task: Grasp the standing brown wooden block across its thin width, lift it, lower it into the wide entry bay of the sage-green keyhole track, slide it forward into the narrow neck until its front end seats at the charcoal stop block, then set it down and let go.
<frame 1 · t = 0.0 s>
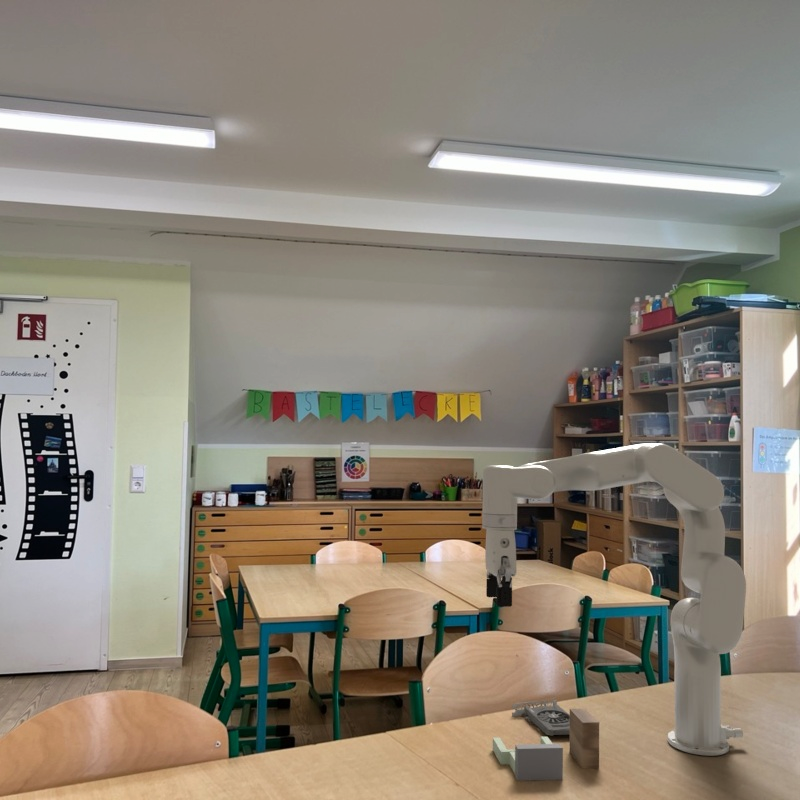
hand: (498, 601, 161), 31 cm above the table, fingers open, 9 cm apart
brown wooden block: (583, 759, 155), on the table
graphics card: (547, 728, 173), on the table
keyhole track: (530, 764, 151), on the table
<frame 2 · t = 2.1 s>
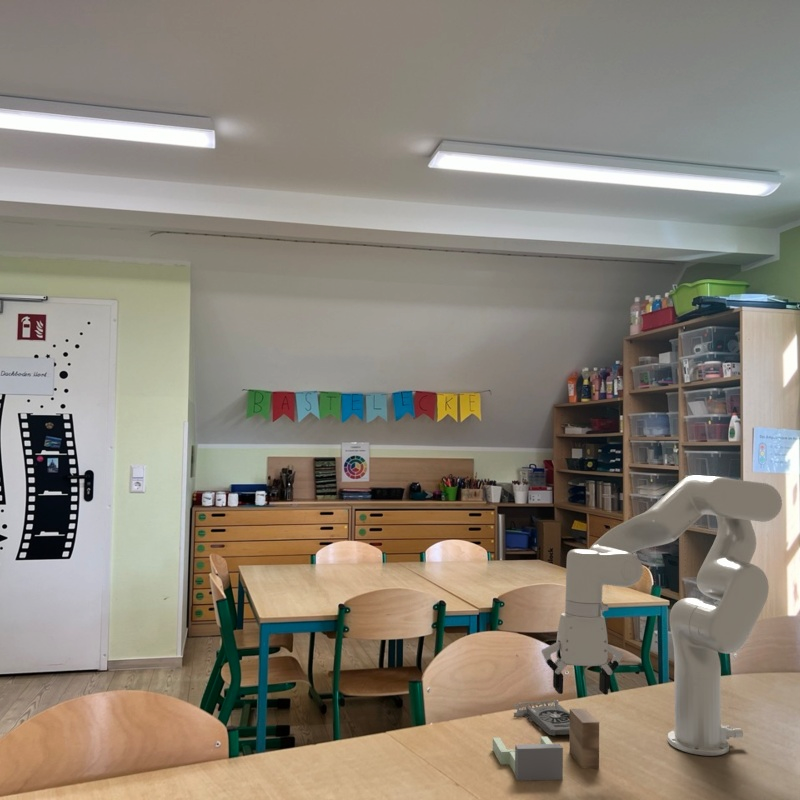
hand: (581, 692, 155), 14 cm above the table, fingers open, 9 cm apart
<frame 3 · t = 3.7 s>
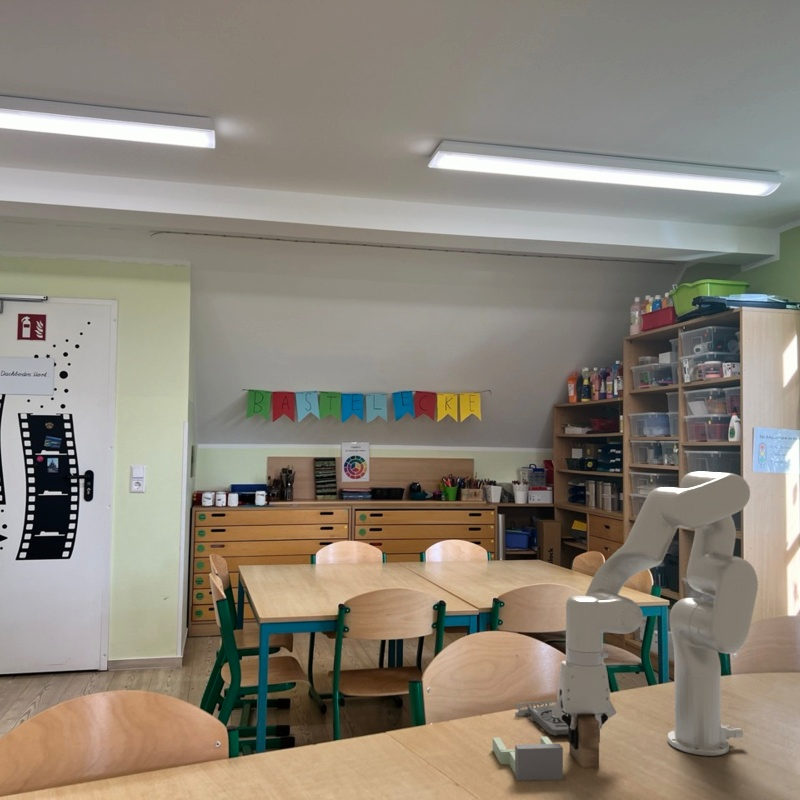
hand: (583, 745, 155), 3 cm above the table, fingers closed on brown wooden block, 3 cm apart
brown wooden block: (583, 759, 155), on the table, touching gripper
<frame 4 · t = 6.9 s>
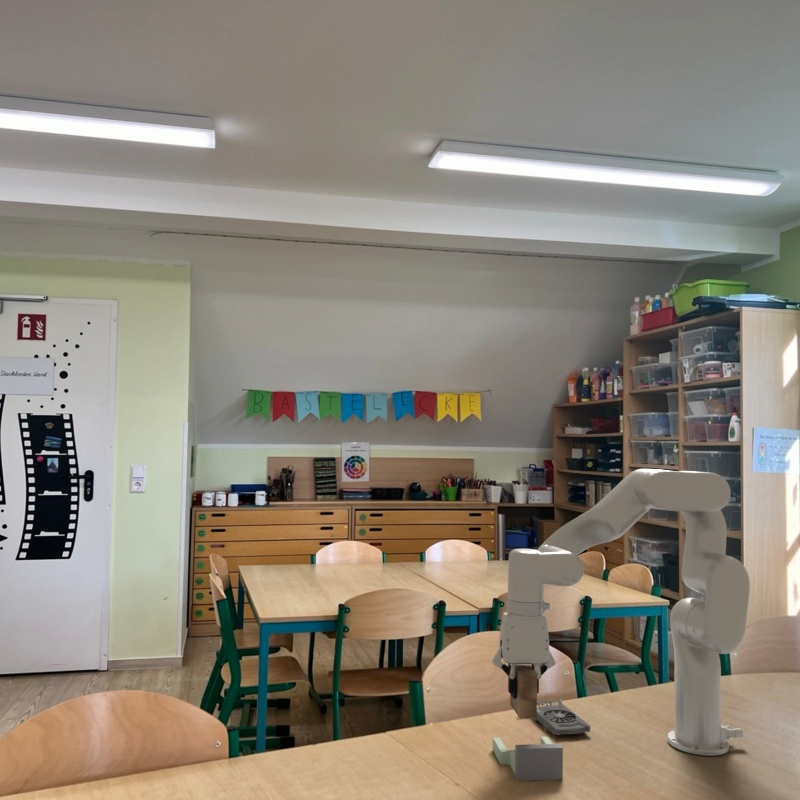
hand: (523, 695, 157), 12 cm above the table, fingers closed on brown wooden block, 3 cm apart
brown wooden block: (523, 711, 156), point 9 cm above the table, touching gripper
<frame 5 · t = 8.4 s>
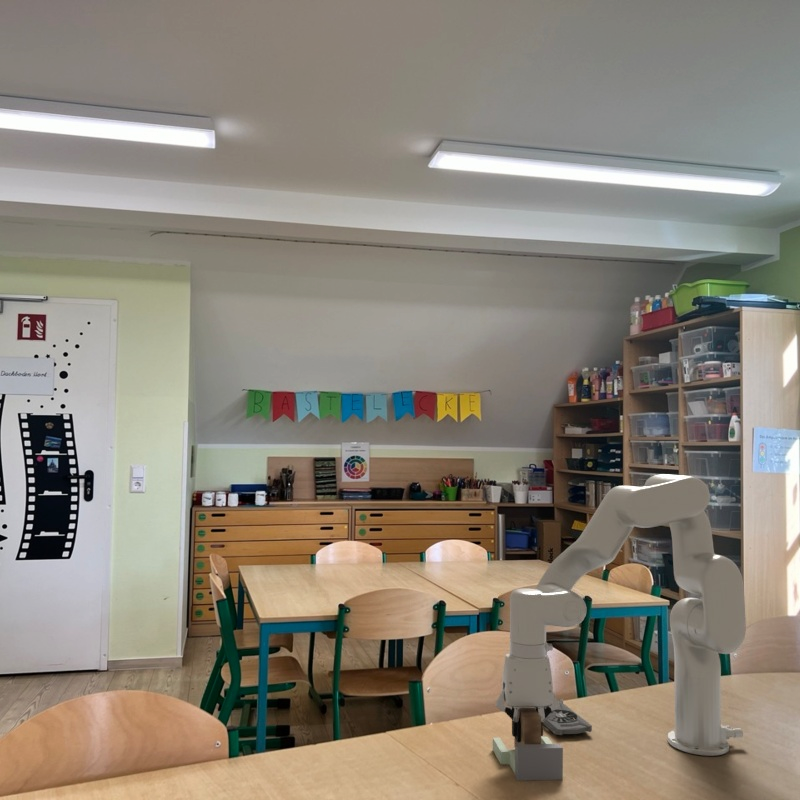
hand: (527, 738, 154), 4 cm above the table, fingers closed on brown wooden block, 3 cm apart
brown wooden block: (527, 754, 154), point 1 cm above the table, touching gripper
when the fingers open (3 cm above the table, at t = 10.0 s): brown wooden block stays where it is, resting in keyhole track.
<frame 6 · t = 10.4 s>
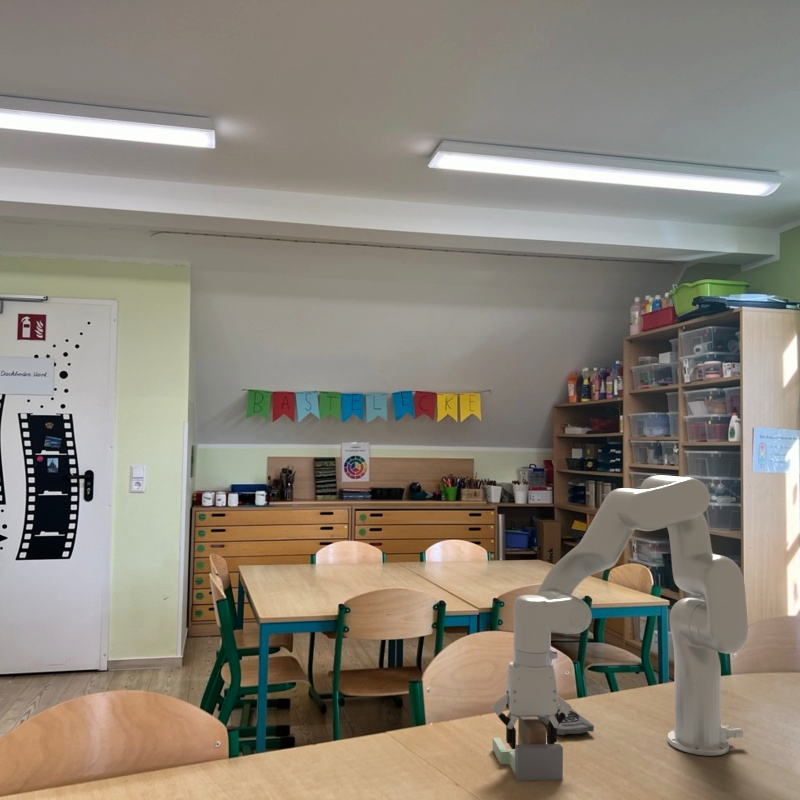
hand: (531, 745, 151), 4 cm above the table, fingers open, 7 cm apart
brown wooden block: (531, 766, 151), resting in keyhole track
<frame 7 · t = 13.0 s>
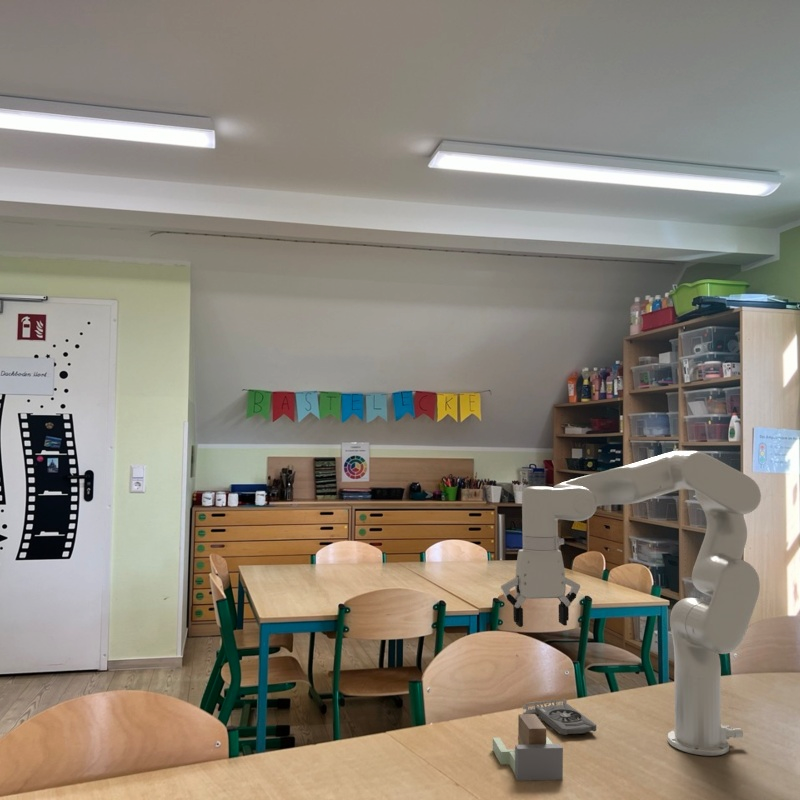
hand: (541, 624, 159), 27 cm above the table, fingers open, 9 cm apart
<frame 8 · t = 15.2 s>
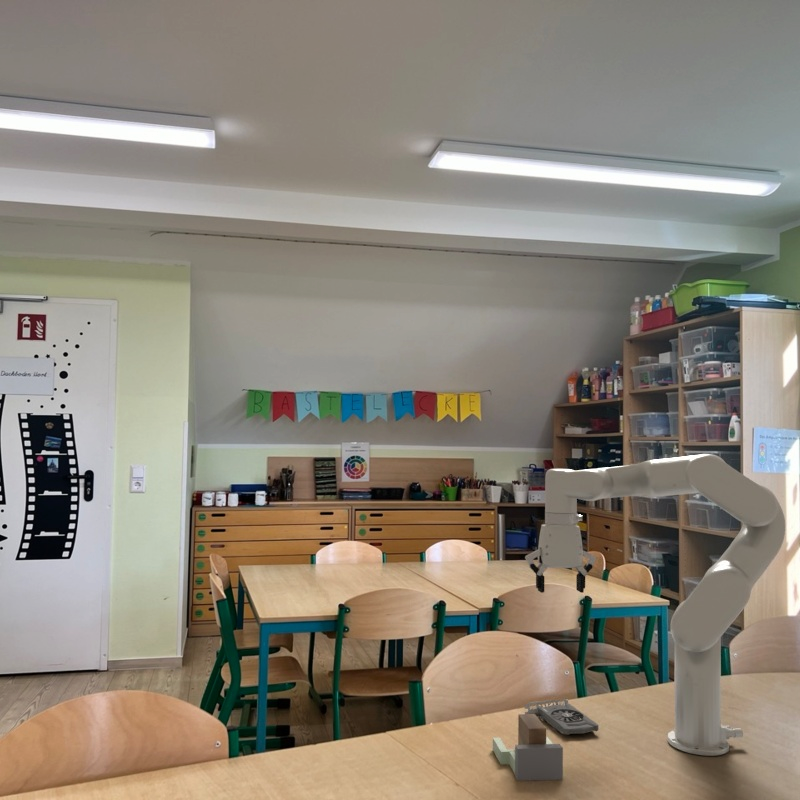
hand: (560, 591, 179), 30 cm above the table, fingers open, 9 cm apart
at the end: brown wooden block 0.1 cm from the target spot, resting in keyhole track; brown wooden block tilted 0°; the gripper is holding nothing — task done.
